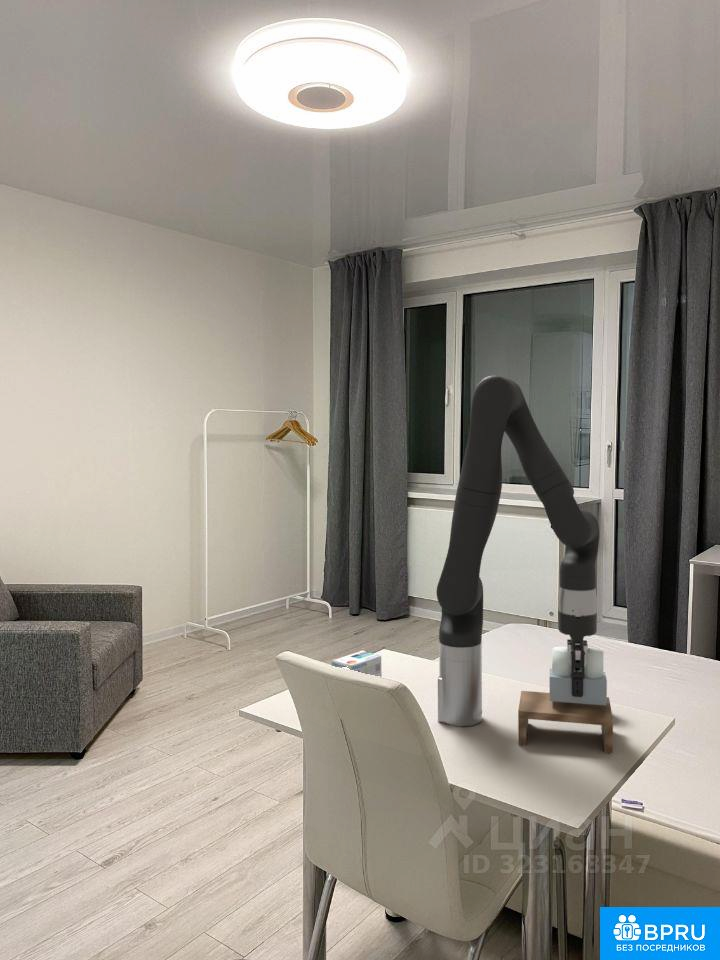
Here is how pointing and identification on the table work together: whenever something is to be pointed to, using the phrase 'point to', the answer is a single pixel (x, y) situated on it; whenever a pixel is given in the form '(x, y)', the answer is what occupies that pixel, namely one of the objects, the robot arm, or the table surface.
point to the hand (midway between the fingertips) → (577, 690)
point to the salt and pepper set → (591, 683)
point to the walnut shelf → (563, 715)
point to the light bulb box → (361, 662)
